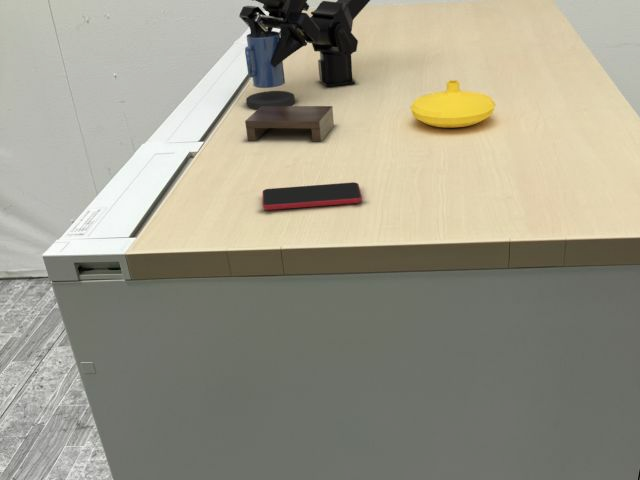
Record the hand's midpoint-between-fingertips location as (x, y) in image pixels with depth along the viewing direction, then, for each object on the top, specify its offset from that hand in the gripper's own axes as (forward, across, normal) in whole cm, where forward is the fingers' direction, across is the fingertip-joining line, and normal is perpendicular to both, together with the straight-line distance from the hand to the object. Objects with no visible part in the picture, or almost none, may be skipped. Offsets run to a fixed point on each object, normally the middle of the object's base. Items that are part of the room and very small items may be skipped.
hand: (261, 63), depth 166 cm
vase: (-2, +40, +14) cm, 43 cm away
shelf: (+13, +20, -2) cm, 24 cm away
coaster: (+5, 0, +6) cm, 8 cm away
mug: (+2, 0, +4) cm, 4 cm away
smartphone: (+28, +48, -18) cm, 59 cm away
